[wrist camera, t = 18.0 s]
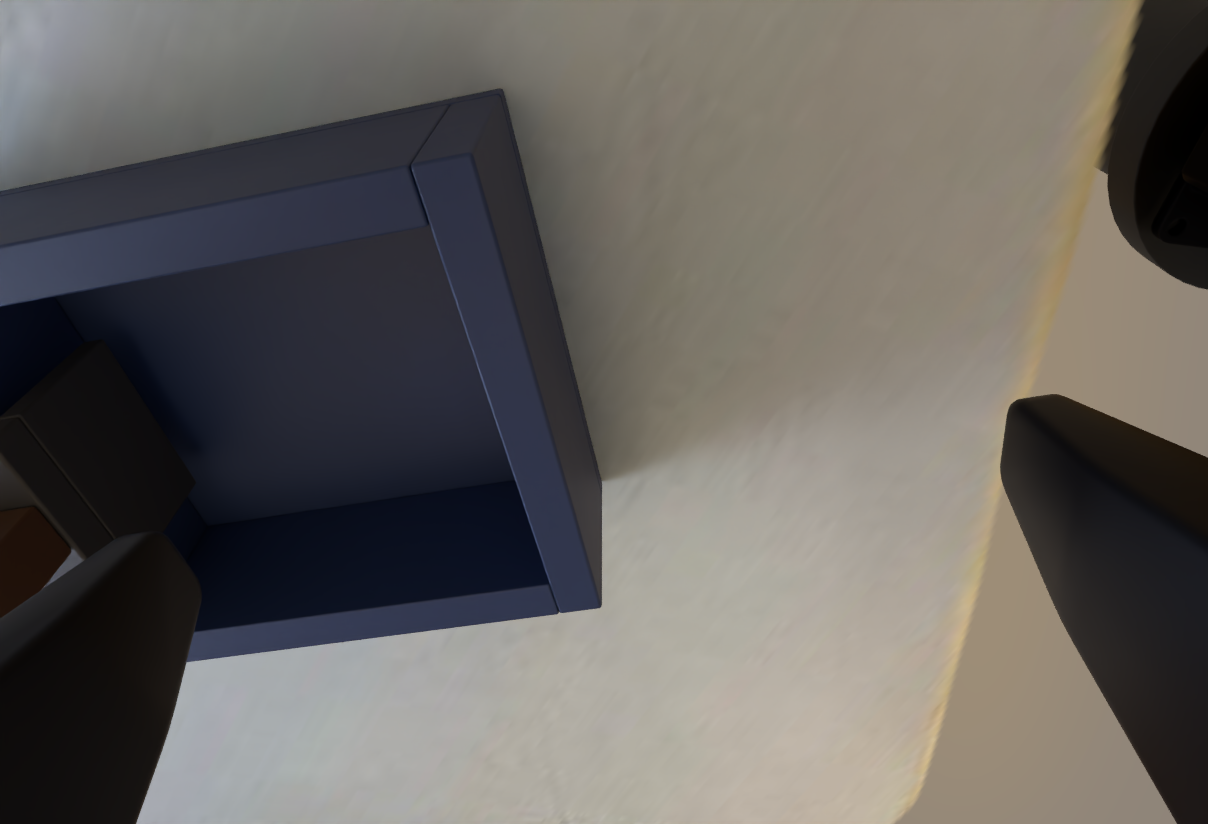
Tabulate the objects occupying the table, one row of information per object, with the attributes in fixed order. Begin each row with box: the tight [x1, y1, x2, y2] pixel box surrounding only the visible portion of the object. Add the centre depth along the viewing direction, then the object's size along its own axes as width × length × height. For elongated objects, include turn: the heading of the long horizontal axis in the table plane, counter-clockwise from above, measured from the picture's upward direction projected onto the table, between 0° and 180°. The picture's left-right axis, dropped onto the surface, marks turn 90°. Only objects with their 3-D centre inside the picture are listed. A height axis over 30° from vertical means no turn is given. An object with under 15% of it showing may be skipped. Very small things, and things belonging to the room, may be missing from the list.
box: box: [0, 89, 602, 662], centre depth 20 cm, size 14×12×5 cm
